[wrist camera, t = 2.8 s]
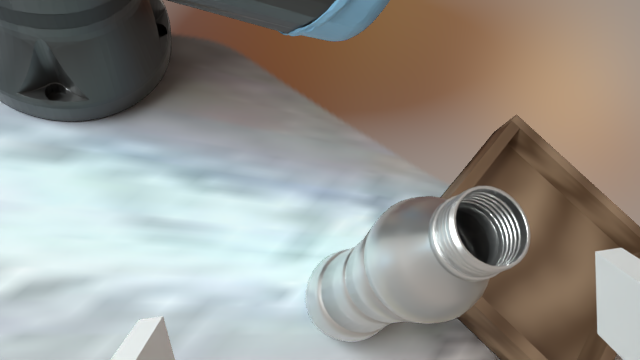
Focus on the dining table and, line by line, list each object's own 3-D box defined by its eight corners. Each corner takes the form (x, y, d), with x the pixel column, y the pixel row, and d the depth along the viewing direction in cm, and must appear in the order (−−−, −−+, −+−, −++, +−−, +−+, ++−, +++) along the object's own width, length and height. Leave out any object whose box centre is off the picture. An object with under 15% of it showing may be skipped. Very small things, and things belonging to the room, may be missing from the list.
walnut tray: (392, 255, 40) (411, 245, 37) (494, 131, 48) (516, 114, 45) (555, 412, 39) (589, 414, 36) (631, 257, 47) (663, 248, 44)
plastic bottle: (394, 310, 38) (589, 247, 20) (330, 363, 35) (491, 345, 17) (347, 243, 39) (493, 128, 21) (280, 289, 36) (386, 201, 19)
